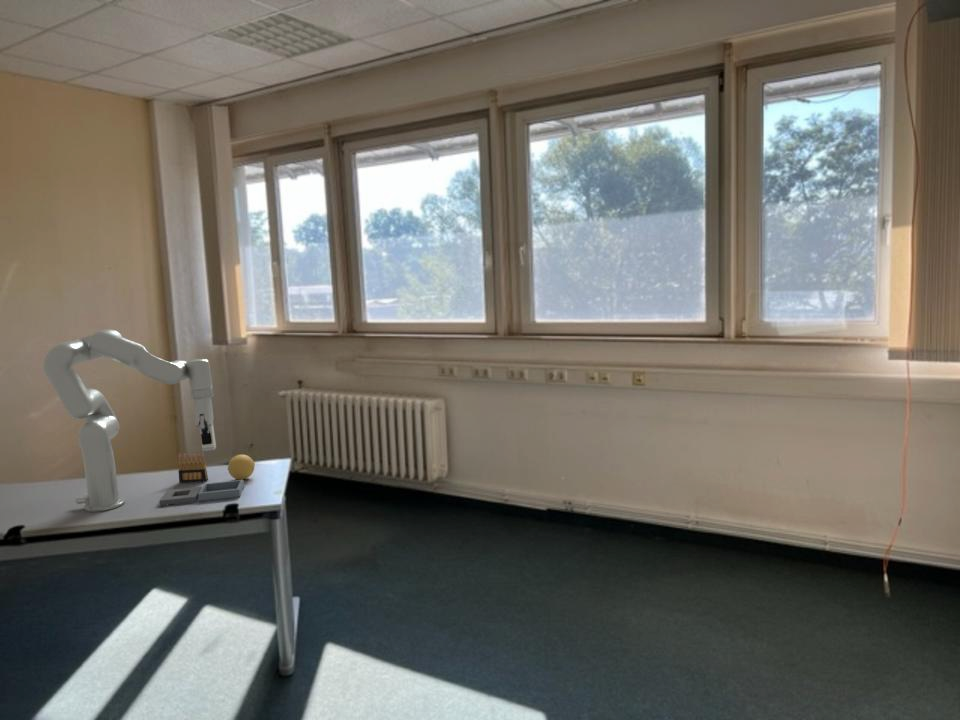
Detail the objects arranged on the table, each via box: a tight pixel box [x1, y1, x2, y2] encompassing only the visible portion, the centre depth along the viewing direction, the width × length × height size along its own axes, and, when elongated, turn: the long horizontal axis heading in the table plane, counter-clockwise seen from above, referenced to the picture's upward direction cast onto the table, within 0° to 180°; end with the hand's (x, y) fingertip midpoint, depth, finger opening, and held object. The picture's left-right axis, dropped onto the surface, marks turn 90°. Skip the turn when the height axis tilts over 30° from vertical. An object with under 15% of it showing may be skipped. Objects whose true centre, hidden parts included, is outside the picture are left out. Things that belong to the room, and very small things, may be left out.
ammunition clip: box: [177, 451, 209, 484], centre depth 258 cm, size 11×2×12 cm, turn 91°
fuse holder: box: [158, 486, 203, 506], centre depth 238 cm, size 12×12×2 cm
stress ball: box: [227, 454, 255, 480], centre depth 258 cm, size 10×10×10 cm
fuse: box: [198, 420, 217, 452], centre depth 238 cm, size 4×4×10 cm
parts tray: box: [198, 479, 245, 503], centre depth 241 cm, size 14×12×3 cm
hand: (208, 442), depth 238 cm, fingers closed on fuse, 3 cm apart
